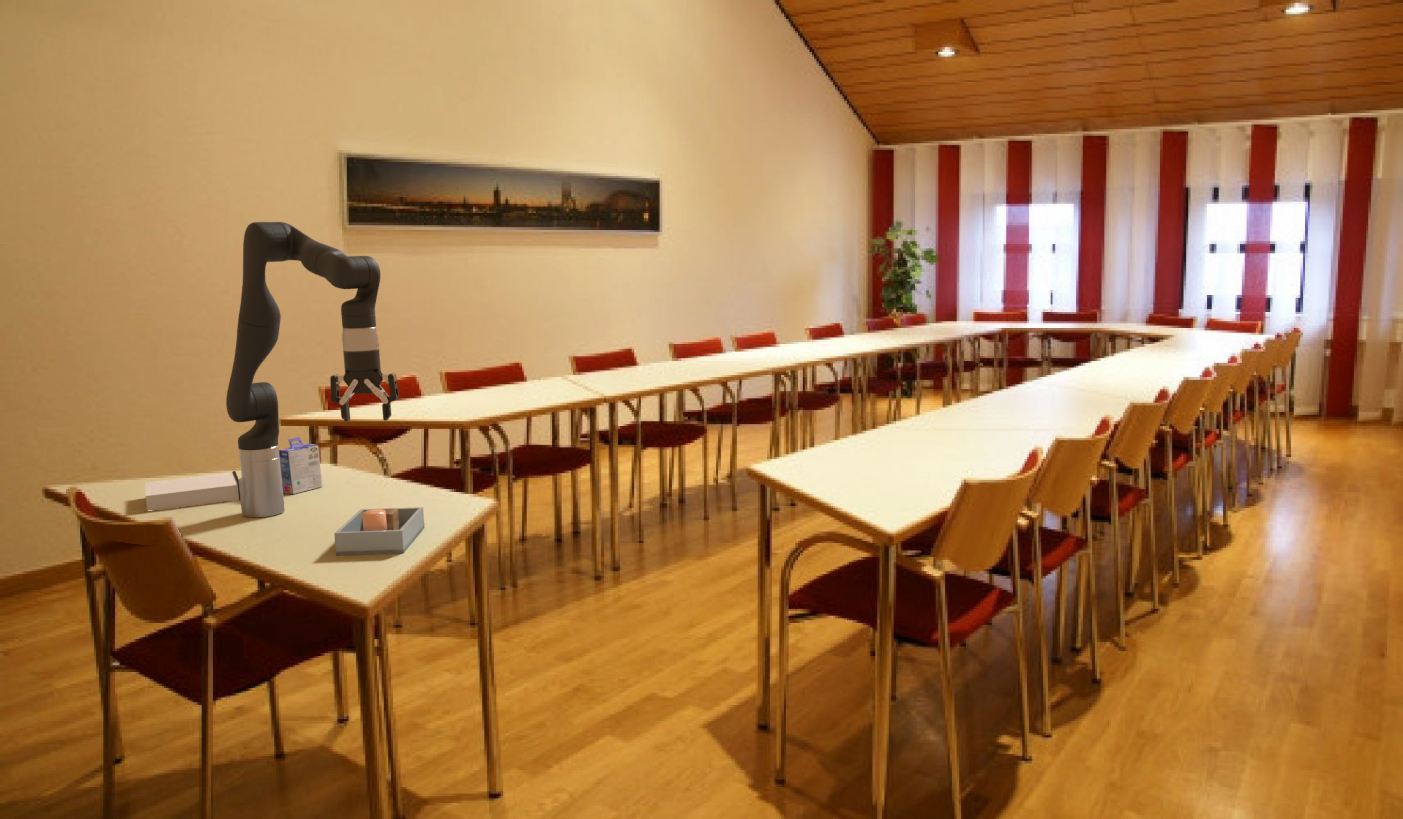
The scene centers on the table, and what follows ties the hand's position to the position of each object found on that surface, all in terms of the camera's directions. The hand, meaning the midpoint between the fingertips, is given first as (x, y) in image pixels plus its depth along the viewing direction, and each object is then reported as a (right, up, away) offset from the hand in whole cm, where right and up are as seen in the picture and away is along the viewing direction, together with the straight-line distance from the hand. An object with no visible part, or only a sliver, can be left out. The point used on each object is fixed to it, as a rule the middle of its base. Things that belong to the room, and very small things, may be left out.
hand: (366, 420), depth 223 cm
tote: (+2, -28, +6) cm, 28 cm away
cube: (+1, -26, +9) cm, 28 cm away
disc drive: (-63, -22, +49) cm, 83 cm away
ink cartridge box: (-36, -20, +56) cm, 70 cm away
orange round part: (+2, -27, +2) cm, 27 cm away
